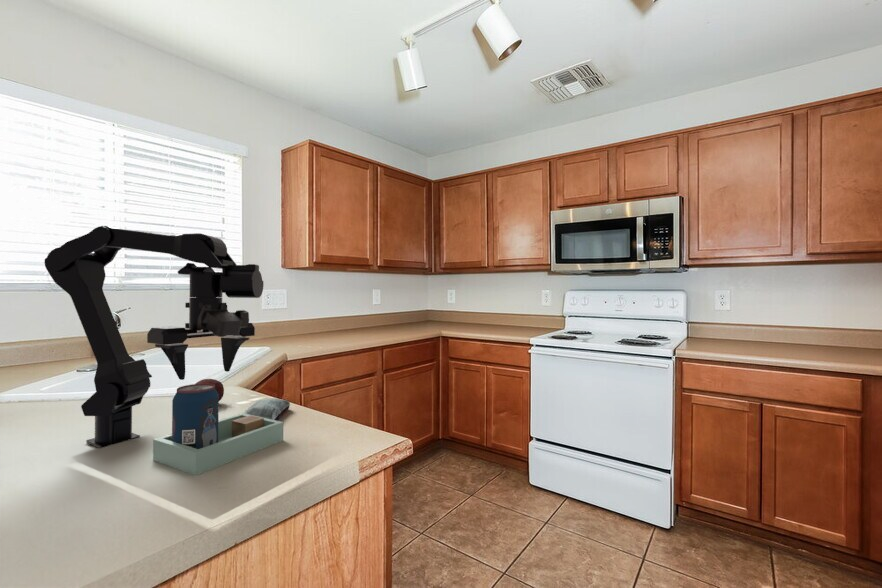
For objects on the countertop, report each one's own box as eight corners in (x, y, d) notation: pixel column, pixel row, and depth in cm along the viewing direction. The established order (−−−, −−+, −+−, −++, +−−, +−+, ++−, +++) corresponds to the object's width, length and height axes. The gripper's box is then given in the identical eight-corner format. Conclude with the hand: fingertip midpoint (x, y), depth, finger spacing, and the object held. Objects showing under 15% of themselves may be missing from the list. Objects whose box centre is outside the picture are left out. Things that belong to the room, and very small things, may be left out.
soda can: (181, 449, 72) (182, 383, 72) (223, 446, 74) (223, 381, 74) (164, 465, 66) (165, 392, 66) (210, 461, 67) (211, 390, 67)
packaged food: (233, 431, 86) (234, 408, 86) (255, 414, 97) (255, 394, 97) (275, 430, 86) (275, 408, 86) (291, 414, 98) (291, 394, 98)
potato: (202, 401, 108) (202, 375, 108) (229, 402, 107) (230, 376, 107) (183, 409, 100) (183, 381, 100) (213, 410, 100) (213, 382, 100)
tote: (153, 465, 68) (153, 439, 68) (242, 434, 83) (242, 413, 83) (195, 481, 62) (195, 452, 62) (283, 445, 78) (283, 422, 78)
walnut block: (231, 441, 76) (231, 420, 76) (250, 435, 80) (250, 415, 80) (245, 445, 75) (245, 424, 75) (263, 438, 78) (263, 418, 78)
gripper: (181, 298, 68) (180, 389, 68) (272, 297, 85) (272, 371, 85) (145, 297, 73) (145, 382, 73) (238, 297, 90) (237, 366, 90)
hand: (205, 375), depth 80 cm, fingers open, 9 cm apart
